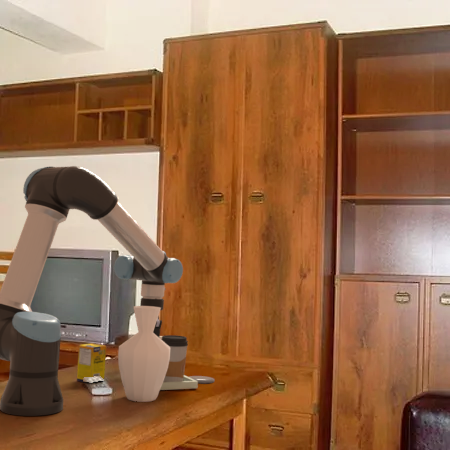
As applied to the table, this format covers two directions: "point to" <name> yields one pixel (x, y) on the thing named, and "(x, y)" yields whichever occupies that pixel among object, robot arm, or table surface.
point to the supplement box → (91, 361)
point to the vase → (143, 358)
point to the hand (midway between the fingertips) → (148, 370)
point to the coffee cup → (176, 357)
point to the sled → (180, 383)
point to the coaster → (203, 379)
